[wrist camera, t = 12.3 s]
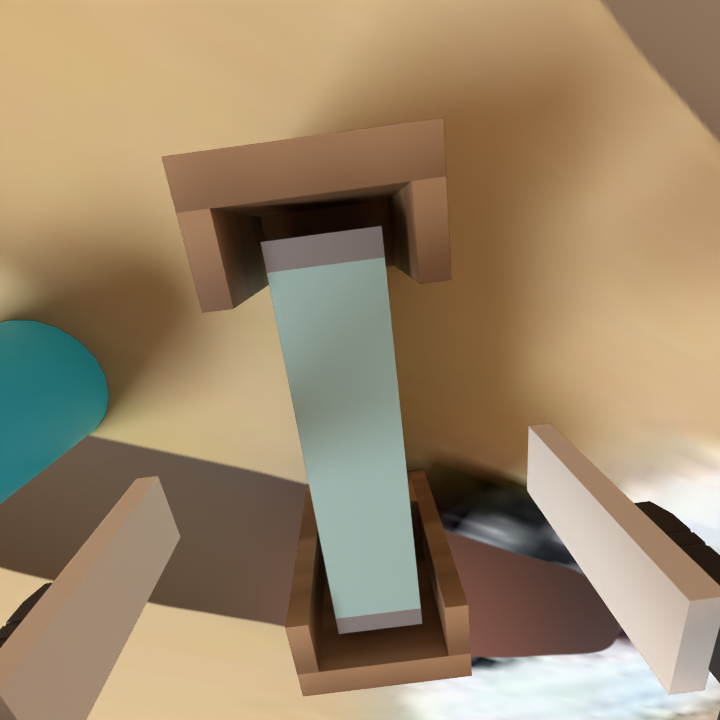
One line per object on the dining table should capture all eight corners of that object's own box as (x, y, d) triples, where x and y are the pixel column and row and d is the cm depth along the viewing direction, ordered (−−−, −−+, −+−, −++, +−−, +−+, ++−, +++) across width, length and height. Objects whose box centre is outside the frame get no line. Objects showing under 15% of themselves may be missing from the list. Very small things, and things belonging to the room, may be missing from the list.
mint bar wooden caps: (248, 191, 20) (161, 156, 11) (398, 171, 20) (443, 117, 11) (318, 536, 28) (303, 696, 18) (428, 522, 28) (471, 675, 18)
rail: (287, 238, 18) (260, 241, 13) (370, 227, 18) (381, 226, 13) (340, 538, 24) (339, 634, 18) (404, 530, 24) (422, 623, 18)
